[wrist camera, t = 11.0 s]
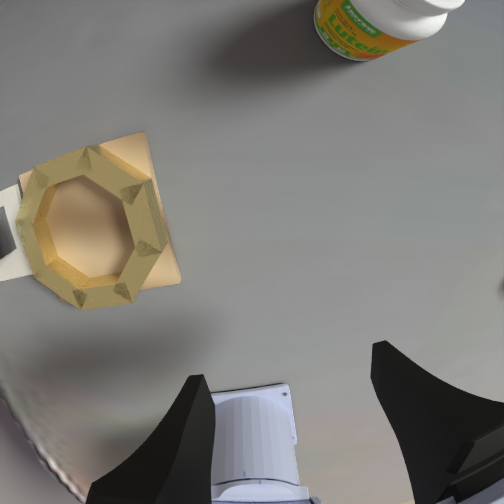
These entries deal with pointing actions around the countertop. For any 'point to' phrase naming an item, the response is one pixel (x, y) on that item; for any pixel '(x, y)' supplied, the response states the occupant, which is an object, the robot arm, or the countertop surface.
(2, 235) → the steel block
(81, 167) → the collar
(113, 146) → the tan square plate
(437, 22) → the supplement bottle
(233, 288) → the countertop surface
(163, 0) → the countertop surface
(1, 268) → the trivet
